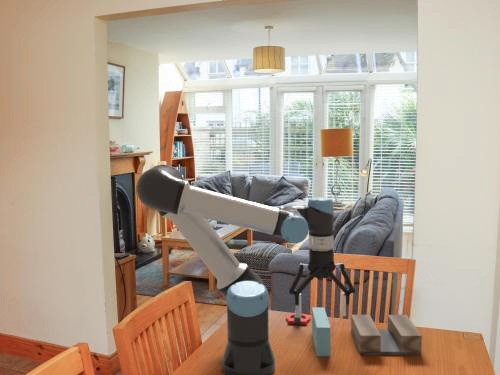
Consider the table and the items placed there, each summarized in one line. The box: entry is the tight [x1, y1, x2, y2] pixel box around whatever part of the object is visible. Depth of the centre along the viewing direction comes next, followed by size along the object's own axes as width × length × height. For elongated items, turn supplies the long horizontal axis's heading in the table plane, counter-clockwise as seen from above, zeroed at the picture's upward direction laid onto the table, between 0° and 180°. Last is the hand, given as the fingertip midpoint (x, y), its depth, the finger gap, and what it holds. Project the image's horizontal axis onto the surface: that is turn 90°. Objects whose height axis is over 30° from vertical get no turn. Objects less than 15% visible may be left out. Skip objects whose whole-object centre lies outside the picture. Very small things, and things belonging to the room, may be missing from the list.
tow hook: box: [285, 305, 311, 326], centre depth 169 cm, size 8×13×9 cm
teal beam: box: [311, 306, 331, 357], centre depth 150 cm, size 16×4×9 cm, turn 178°
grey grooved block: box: [350, 314, 423, 356], centre depth 150 cm, size 18×16×6 cm
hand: (322, 314), depth 149 cm, fingers open, 13 cm apart
